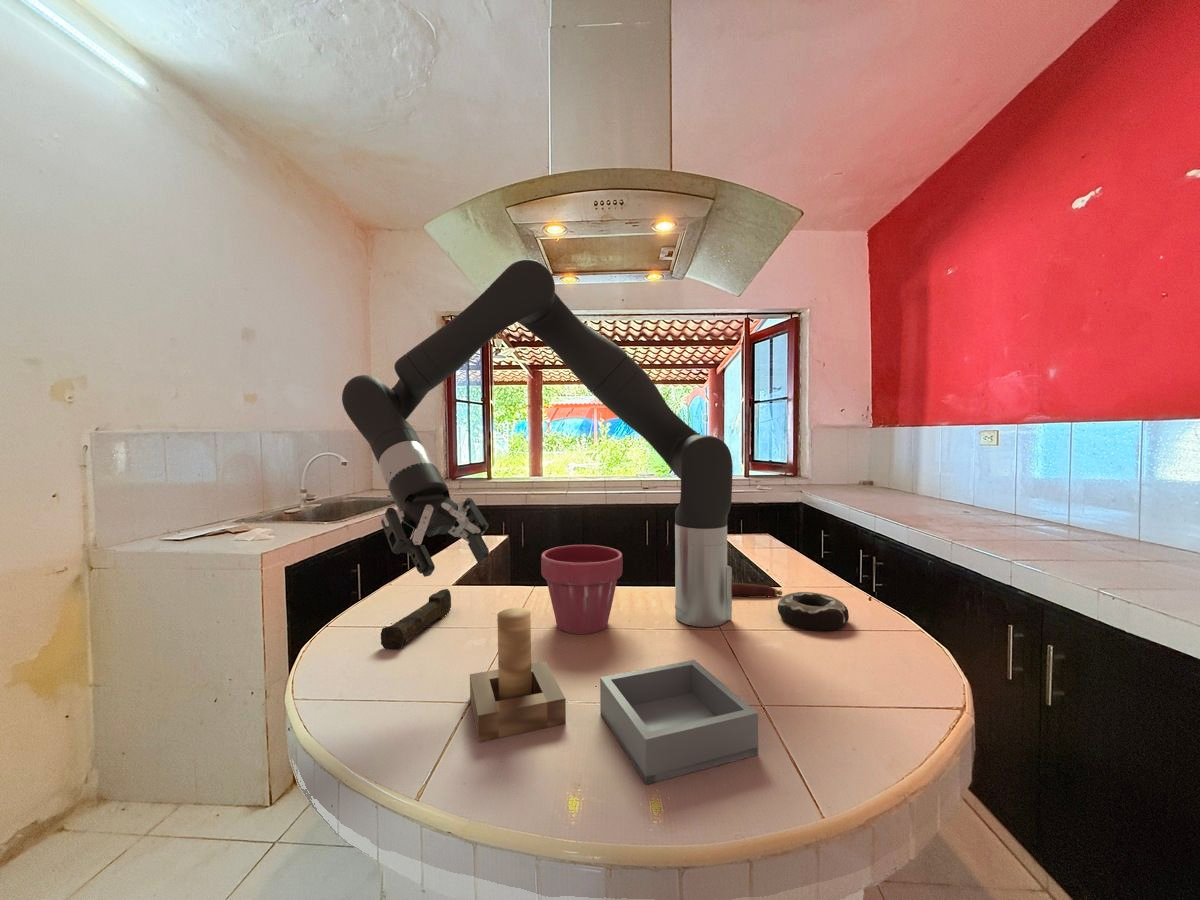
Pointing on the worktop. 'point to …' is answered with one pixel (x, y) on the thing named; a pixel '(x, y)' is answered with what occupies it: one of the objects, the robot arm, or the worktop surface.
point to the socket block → (516, 705)
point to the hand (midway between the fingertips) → (458, 566)
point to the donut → (813, 611)
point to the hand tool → (416, 621)
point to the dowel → (514, 653)
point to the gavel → (754, 590)
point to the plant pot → (581, 585)
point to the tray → (677, 720)
